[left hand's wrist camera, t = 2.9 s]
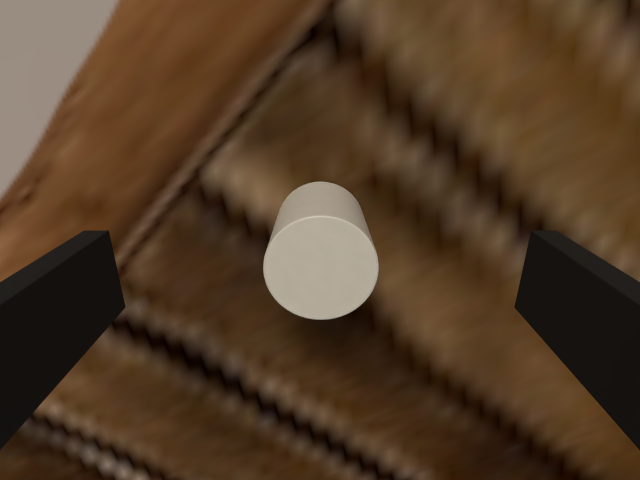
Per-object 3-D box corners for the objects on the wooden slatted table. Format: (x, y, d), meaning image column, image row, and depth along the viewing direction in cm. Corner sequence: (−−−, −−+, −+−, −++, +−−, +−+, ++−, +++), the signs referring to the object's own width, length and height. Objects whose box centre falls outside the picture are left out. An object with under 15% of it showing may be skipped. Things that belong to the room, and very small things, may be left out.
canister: (266, 193, 16) (247, 232, 12) (352, 171, 16) (365, 202, 12) (291, 270, 18) (282, 330, 13) (371, 251, 17) (388, 306, 13)
